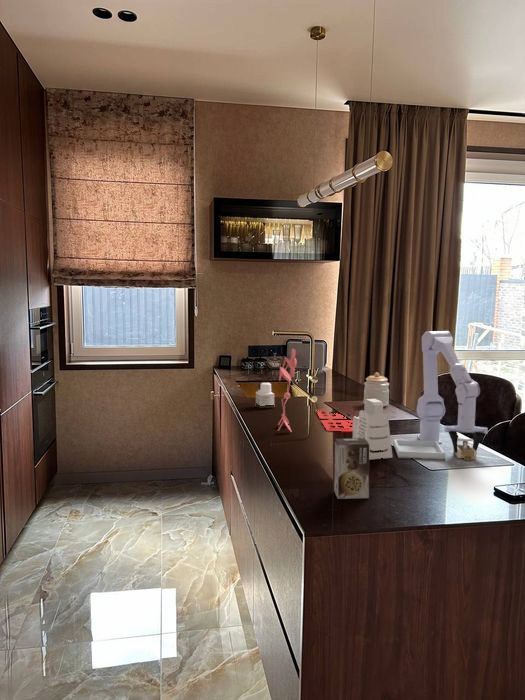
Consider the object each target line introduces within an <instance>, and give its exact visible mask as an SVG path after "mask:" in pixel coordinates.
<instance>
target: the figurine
mask: <svg viewBox="0 0 525 700" xmlns="http://www.w3.org/2000/svg"><path fill="white" fill-rule="evenodd" d="M290 354H291V356H290V357H291V358H290V359H289V358H287V357H286V356H285V357H284V361H283V365H282V366H279V376H278V377H279V378H278V381H279V382H280V381H281V380H282V378H283V379H285V380H286V381H287V382H288V388H287V392H284V395H283V396H284V397H283V398H282V399H281V405H282V412H283V413H281V419H280V420H279V422H278V423H277V425H279V426H278V429H277V431H280V430H281V428H282V426H283V424H284V425H285V426H286V428H287V429H288V430H289V432H290V433H291V432H292V433H293V431H292V429H291V426H290V422H289V419H288V417H287V415H286V403H287V401H288V399H290V397H291V394H290V386H291V382H292V378H294V377H295V371H296V370H295V368H297V364H298V361H297V358H296V349H294V348H291V353H290ZM286 363H287V365H286ZM285 365H286V366H285ZM284 367H285V368H284ZM288 367H289V368H290V369H289V371H290V373H289V372H288V371H287V369H288ZM284 399H286V400H285V401H284ZM288 424H289V425H288Z"/></svg>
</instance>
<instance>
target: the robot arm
mask: <svg viewBox="0 0 525 700" xmlns="http://www.w3.org/2000/svg"><path fill="white" fill-rule="evenodd" d="M453 343H454V338H453V336H452V334H451V332H450V331H449V330H441V331H440V330H437V331H435V330H434V331H433V330H431V331H429V330H428V331H427V330H426V331H424V333H423V335H422V336H421V352H422V364H423V365H422V367H423V369H422V371H423V394H422V396H420V397H419V398H418V399H417V405H416V414H417V416H418V417H419V419H420V426H419V429H420V430H419V434H418V435H417V438H418V440H419V439H420V440H423V441H437V442H438V443H439V444H442V443H443V442H442V440H441V439H440V431H441V430H440V428H441V420H442V419H443V417H444V416H445V413H446V407H445V404H444V398H443V397H442V396H440V395H439V384H438V383H439V380H438V354H440V352H441V354H442V355H443V357H444V359H445V361H446V362H447V363H448V365H449V367H450V368H449V374H450V376H451V378H452V380H453V382H454V385H455V386H456V388H455V395H456V399H457V400H456V401H457V403H458V408H457V409H458V410H457V411H458V412H457V425H456V424H455V425H444V428H443V429H444V432H445V433H448V435H449V437H450V440H451V443H452V447H453V453H454V452H456V453H457V445H458V442H459V441H458V438H459V435H458V433H466V434H468V433H469V434H470V433H471V434H472V439H473V441H472V447H473V448H474V449H475V450H476V451H478V448H479V445H480V443H481V442H482V440H483V438H484V434H485V435H488V432H489V431H488V429H489V428H488V427H486V426H485V427H484V426H476V423H475V421H476V405H477V404H476V403H477V398H478V397H479V396H480V394H481V388H480V384H479V383H478V382H477V381H475V380H474V379H473V378H471V376H470V374H469V372H468V370H467V368H466V366H465V365H464V364H462V363H460V361H459V359H458V356H457V354H456V351H455V349H454V346H453Z"/></svg>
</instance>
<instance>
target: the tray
mask: <svg viewBox="0 0 525 700" xmlns="http://www.w3.org/2000/svg"><path fill="white" fill-rule="evenodd" d="M393 448H394V449H395V452H396V454H397V457H398V459H411V458H422V459H421V460H433V459H445V460H446V452H445V451H444V449H443V447H442V446H441V445H440V443H438V442H437V441H423V440H419V439H418V440H417V439H393Z"/></svg>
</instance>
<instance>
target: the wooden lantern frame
mask: <svg viewBox="0 0 525 700" xmlns="http://www.w3.org/2000/svg"><path fill="white" fill-rule="evenodd" d="M477 451H478V450H477ZM477 451H476V450H475V449H474V448H473V445H472V444H468V445H467V450H463V444H457V453H456V452H454V451H453V454H454V453H455V454H456V455H455V454H454V455H455V456H456V458H457V457H458V458H464V459H463V460H464V461H465V460H471V461H473V460H472V459H476V460H477V453H478V452H477ZM458 458H457V459H458Z"/></svg>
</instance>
